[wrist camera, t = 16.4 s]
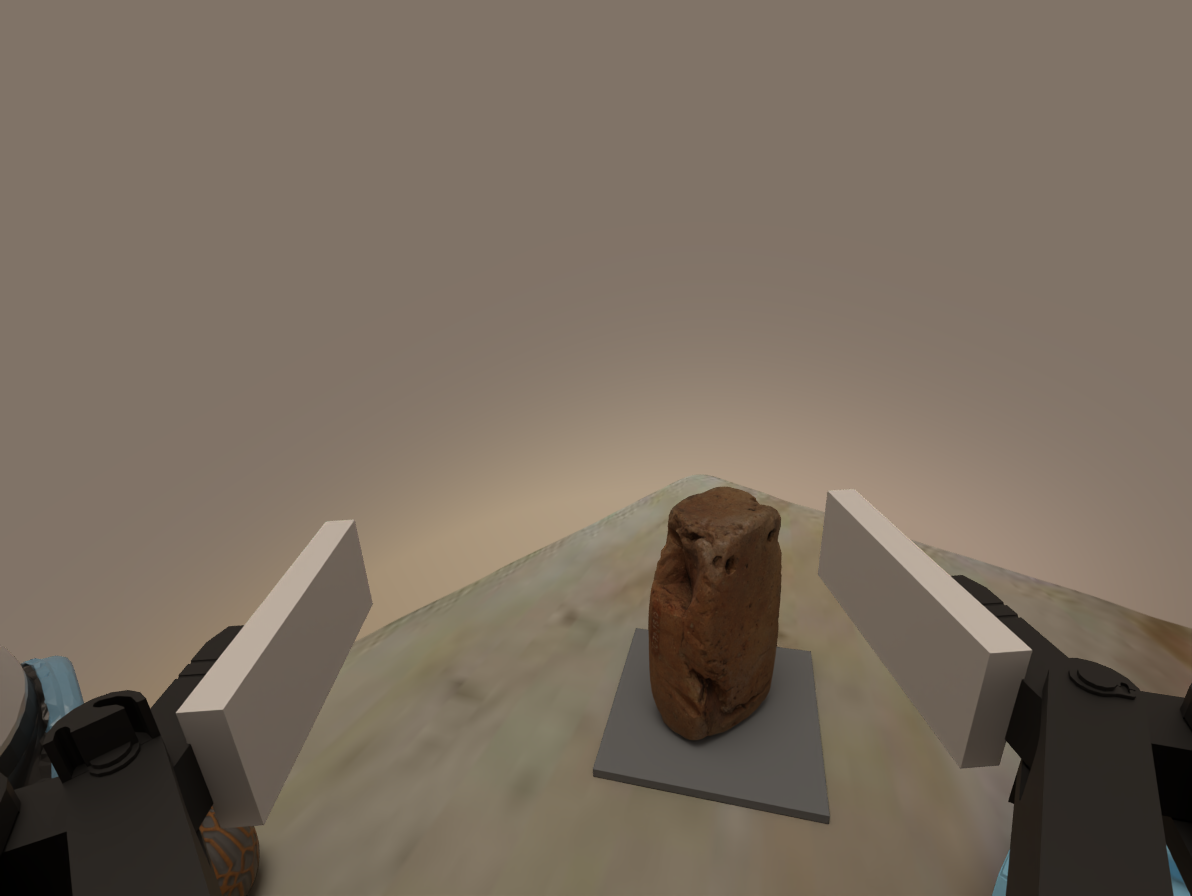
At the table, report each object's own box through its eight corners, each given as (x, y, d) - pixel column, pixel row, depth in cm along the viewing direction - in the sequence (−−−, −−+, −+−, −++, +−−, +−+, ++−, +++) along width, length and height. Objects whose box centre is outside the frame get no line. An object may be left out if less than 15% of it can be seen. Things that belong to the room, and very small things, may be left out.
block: (718, 656, 59) (725, 475, 52) (781, 699, 53) (799, 502, 46) (638, 710, 53) (633, 513, 45) (699, 765, 47) (705, 551, 40)
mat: (593, 776, 47) (592, 769, 47) (636, 634, 64) (635, 628, 63) (828, 823, 43) (829, 816, 43) (810, 657, 59) (810, 651, 59)
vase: (134, 917, 39) (87, 826, 36) (239, 832, 44) (207, 746, 41) (180, 984, 35) (132, 889, 32) (289, 883, 41) (257, 793, 38)
